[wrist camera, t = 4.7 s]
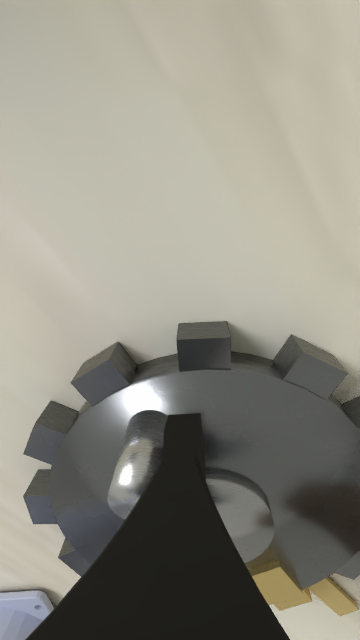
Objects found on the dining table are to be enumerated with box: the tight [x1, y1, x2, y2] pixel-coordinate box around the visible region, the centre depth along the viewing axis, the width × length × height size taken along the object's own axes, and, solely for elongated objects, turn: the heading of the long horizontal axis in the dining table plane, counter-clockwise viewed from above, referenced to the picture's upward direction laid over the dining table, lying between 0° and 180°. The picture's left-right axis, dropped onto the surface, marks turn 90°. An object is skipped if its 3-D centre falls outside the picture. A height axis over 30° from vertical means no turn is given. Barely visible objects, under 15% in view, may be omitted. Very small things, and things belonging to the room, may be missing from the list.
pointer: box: [308, 577, 359, 616], centre depth 17 cm, size 4×1×1 cm, turn 41°
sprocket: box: [23, 321, 360, 610], centre depth 13 cm, size 16×16×4 cm
